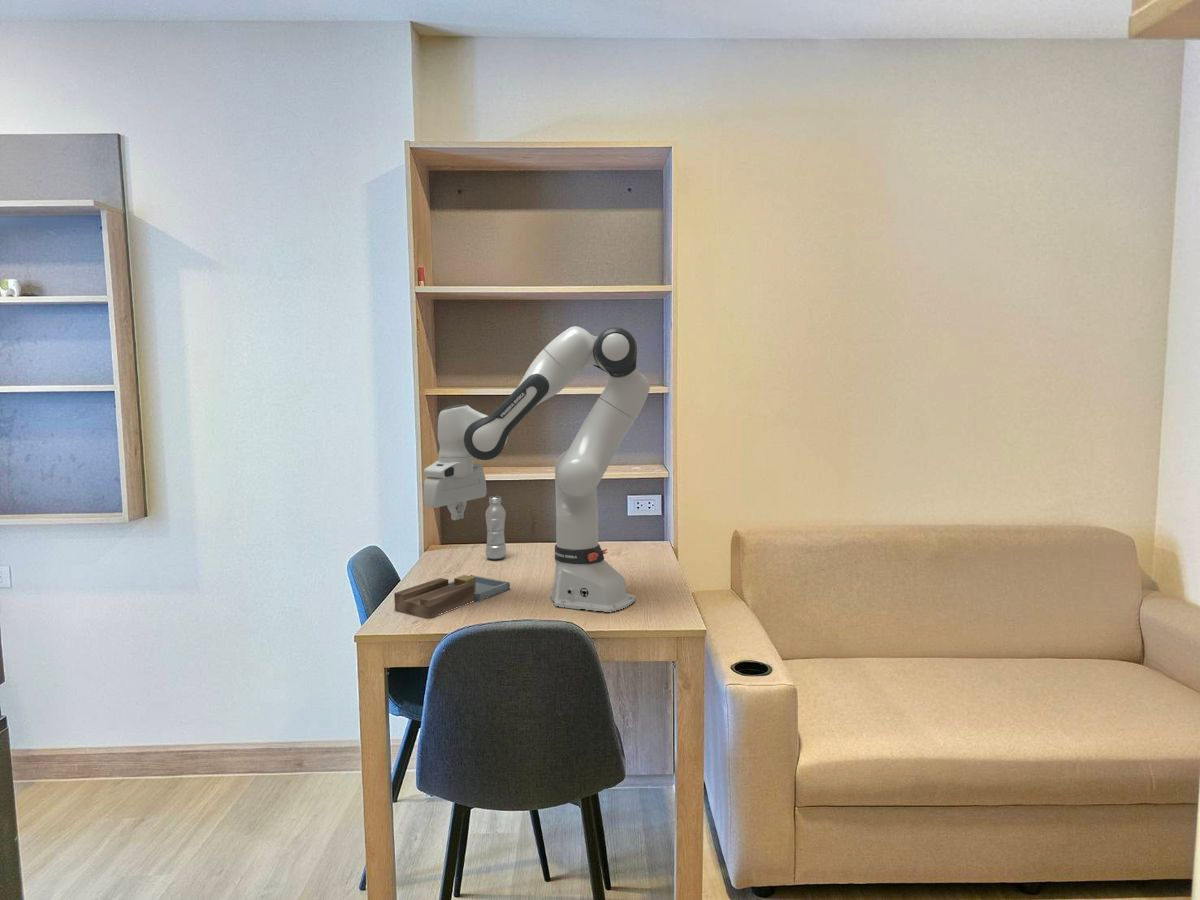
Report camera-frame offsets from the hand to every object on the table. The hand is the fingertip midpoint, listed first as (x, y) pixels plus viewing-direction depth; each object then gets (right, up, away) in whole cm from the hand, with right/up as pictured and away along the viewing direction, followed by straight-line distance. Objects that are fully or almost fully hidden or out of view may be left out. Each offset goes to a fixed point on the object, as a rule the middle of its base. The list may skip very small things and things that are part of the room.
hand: (457, 519), depth 195 cm
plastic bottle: (+4, -17, +42) cm, 46 cm away
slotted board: (-5, -22, -5) cm, 23 cm away
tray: (+3, -20, +7) cm, 22 cm away
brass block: (0, -18, +3) cm, 19 cm away
